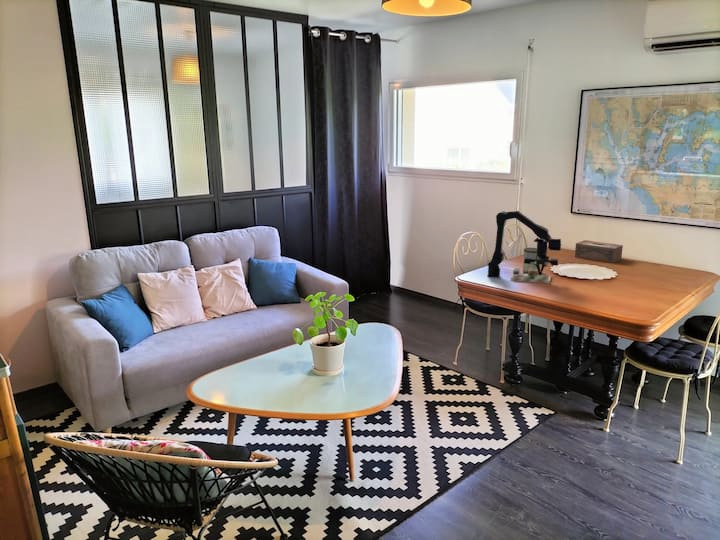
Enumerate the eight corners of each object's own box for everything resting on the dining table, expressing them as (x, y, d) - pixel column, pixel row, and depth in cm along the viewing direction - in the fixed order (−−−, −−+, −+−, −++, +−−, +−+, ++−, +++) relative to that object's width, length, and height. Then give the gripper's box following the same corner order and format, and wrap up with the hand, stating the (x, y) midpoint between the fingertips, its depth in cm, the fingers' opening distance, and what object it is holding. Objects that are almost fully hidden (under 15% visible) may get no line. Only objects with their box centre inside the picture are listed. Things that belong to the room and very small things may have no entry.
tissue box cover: (574, 257, 360) (575, 243, 357) (583, 253, 370) (584, 240, 367) (612, 263, 342) (614, 248, 339) (621, 259, 352) (622, 245, 349)
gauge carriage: (522, 278, 304) (522, 271, 303) (523, 274, 313) (523, 267, 312) (536, 279, 301) (536, 272, 300) (537, 275, 310) (537, 268, 309)
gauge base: (510, 280, 307) (511, 272, 306) (512, 275, 318) (513, 267, 317) (549, 283, 299) (550, 274, 298) (550, 277, 310) (551, 269, 309)
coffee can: (520, 269, 332) (522, 247, 328) (537, 269, 331) (538, 247, 327) (524, 273, 322) (525, 251, 318) (541, 273, 321) (542, 251, 317)
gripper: (524, 251, 297) (522, 277, 301) (558, 253, 291) (556, 280, 295) (525, 247, 307) (524, 272, 311) (558, 249, 301) (557, 275, 305)
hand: (540, 275), depth 305 cm, fingers closed
